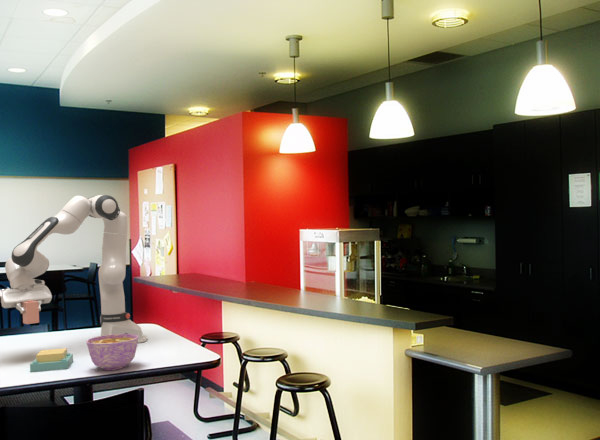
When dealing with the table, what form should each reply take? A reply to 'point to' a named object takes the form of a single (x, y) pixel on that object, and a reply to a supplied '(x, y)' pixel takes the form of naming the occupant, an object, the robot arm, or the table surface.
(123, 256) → the robot arm
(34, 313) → the tall brick
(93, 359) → the bowl of food
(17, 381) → the table surface
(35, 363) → the stepped square block
